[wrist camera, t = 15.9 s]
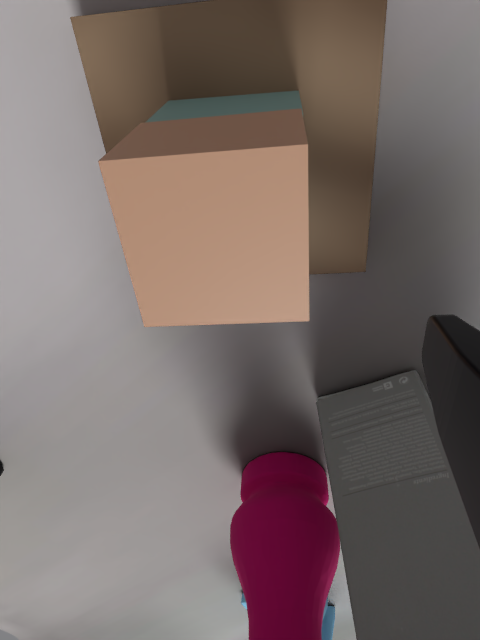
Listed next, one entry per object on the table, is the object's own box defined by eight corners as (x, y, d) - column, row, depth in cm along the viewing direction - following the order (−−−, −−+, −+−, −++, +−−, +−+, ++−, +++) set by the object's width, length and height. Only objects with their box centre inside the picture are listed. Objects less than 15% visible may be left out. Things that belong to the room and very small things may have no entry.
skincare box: (313, 394, 28) (341, 735, 15) (431, 360, 25) (584, 730, 13) (355, 471, 32) (406, 788, 19) (460, 448, 30) (596, 791, 17)
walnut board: (361, 259, 22) (365, 271, 21) (146, 270, 23) (140, 282, 22) (382, -20, 15) (388, -21, 14) (82, 16, 17) (70, 17, 16)
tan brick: (303, 256, 16) (309, 321, 13) (170, 263, 17) (144, 326, 14) (301, 108, 13) (308, 143, 10) (140, 122, 14) (98, 161, 11)
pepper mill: (220, 455, 32) (160, 923, 16) (319, 438, 30) (363, 950, 14) (254, 509, 36) (233, 930, 20) (343, 497, 34) (400, 952, 18)
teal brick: (299, 216, 19) (303, 259, 16) (187, 221, 20) (170, 264, 17) (298, 90, 17) (302, 113, 13) (168, 100, 17) (142, 124, 14)
